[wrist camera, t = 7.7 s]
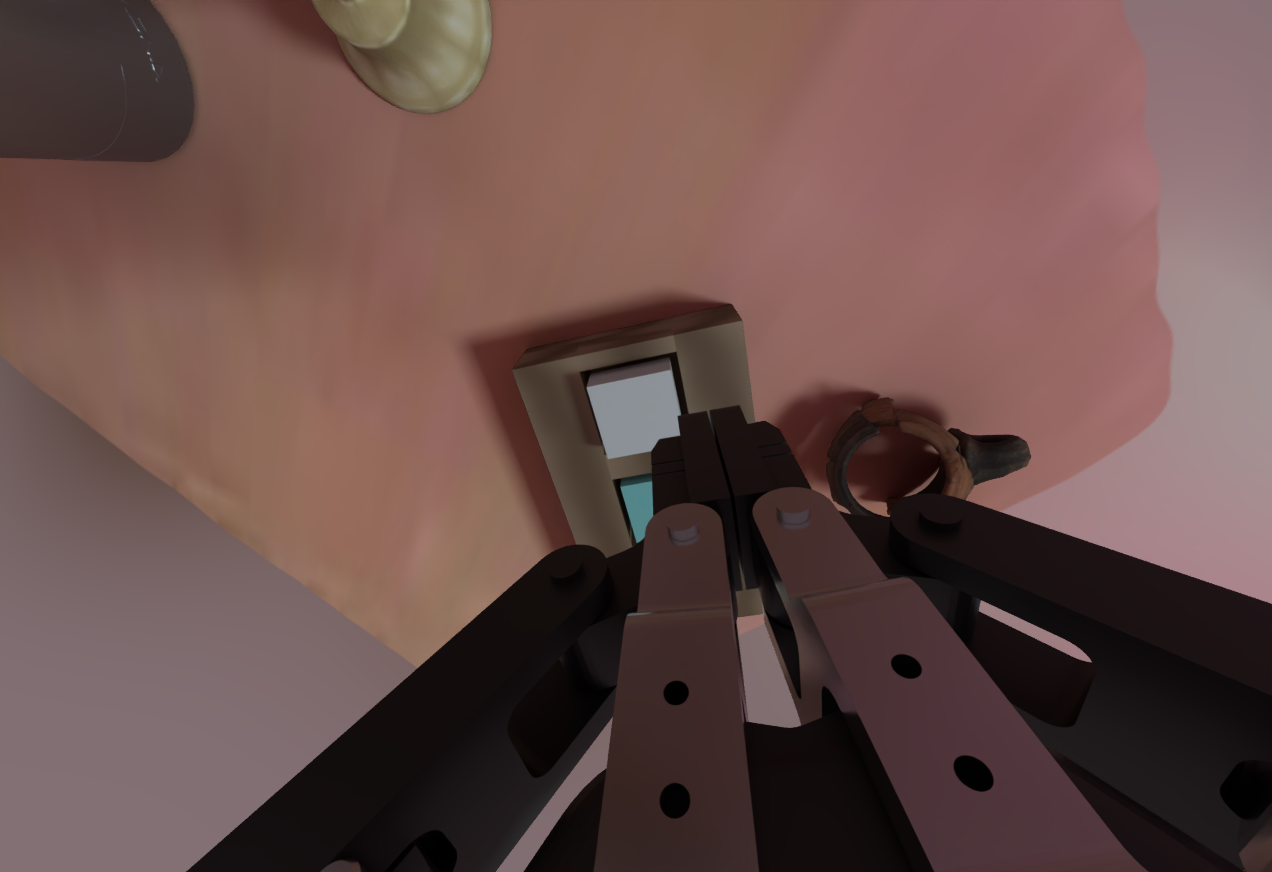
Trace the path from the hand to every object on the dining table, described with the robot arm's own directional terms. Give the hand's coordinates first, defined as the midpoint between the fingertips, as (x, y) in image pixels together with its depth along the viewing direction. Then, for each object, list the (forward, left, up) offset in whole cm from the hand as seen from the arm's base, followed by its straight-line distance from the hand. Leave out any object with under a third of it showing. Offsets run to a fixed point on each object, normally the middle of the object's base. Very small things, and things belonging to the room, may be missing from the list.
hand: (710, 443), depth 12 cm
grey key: (-4, -6, -18) cm, 19 cm away
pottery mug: (+14, -15, -22) cm, 30 cm away
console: (-4, -14, -21) cm, 26 cm away
